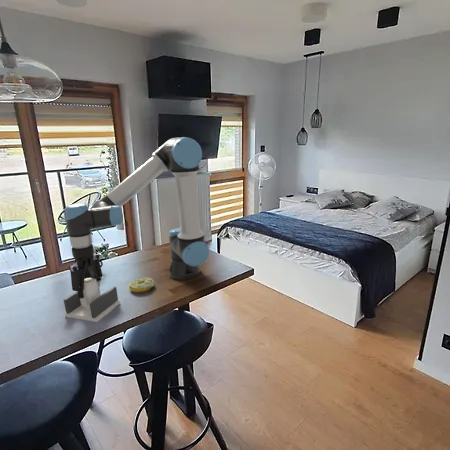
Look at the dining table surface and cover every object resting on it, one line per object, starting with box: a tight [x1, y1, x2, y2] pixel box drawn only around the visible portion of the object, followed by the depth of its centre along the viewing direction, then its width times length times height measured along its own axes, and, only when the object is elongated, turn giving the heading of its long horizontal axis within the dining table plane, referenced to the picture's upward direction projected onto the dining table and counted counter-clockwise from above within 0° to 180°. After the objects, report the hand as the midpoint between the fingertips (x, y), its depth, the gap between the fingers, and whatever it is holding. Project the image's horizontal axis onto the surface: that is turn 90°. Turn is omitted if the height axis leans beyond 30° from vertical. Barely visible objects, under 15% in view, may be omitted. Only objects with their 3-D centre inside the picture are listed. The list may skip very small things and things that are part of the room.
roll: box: [83, 278, 99, 311], centre depth 124 cm, size 6×6×11 cm
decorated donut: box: [128, 276, 155, 294], centre depth 142 cm, size 10×11×4 cm
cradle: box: [62, 286, 121, 323], centre depth 125 cm, size 15×14×8 cm
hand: (91, 299), depth 125 cm, fingers closed on roll, 6 cm apart
